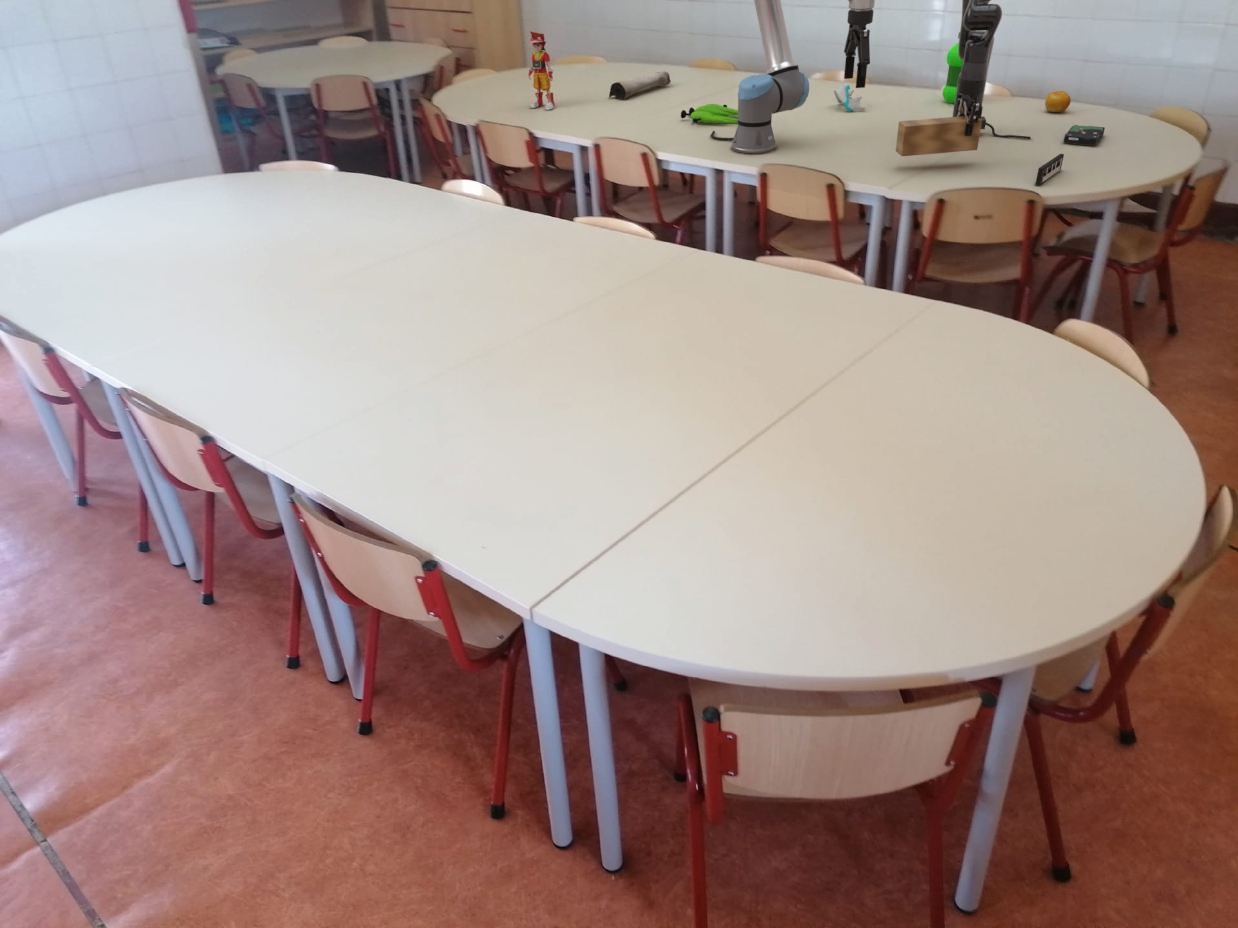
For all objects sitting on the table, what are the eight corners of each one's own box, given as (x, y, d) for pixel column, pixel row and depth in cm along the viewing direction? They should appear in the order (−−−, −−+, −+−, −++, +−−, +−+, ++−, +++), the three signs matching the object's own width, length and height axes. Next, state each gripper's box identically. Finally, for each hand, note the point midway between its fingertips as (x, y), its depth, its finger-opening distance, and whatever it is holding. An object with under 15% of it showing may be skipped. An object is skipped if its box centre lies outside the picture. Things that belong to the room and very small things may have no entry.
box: (970, 144, 289) (974, 115, 284) (977, 150, 284) (982, 120, 279) (895, 151, 289) (898, 121, 283) (901, 156, 284) (905, 126, 279)
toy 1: (525, 109, 381) (517, 32, 364) (534, 104, 388) (527, 28, 371) (550, 110, 377) (543, 32, 360) (559, 105, 384) (553, 28, 367)
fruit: (1041, 103, 332) (1056, 84, 329) (1039, 107, 340) (1054, 87, 337) (1060, 116, 331) (1076, 96, 328) (1058, 119, 339) (1073, 100, 335)
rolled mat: (651, 76, 408) (662, 61, 399) (662, 93, 408) (674, 79, 400) (605, 92, 391) (616, 77, 383) (617, 110, 391) (628, 95, 383)
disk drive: (1096, 147, 298) (1103, 135, 308) (1098, 138, 296) (1105, 126, 306) (1062, 144, 302) (1070, 132, 312) (1064, 135, 301) (1072, 124, 311)
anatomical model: (829, 82, 357) (854, 75, 356) (832, 108, 363) (856, 101, 362) (839, 90, 345) (865, 83, 344) (842, 117, 351) (867, 111, 350)
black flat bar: (1039, 185, 269) (1043, 168, 266) (1035, 184, 270) (1038, 168, 267) (1060, 170, 279) (1064, 154, 277) (1056, 169, 280) (1060, 153, 277)
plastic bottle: (973, 101, 354) (984, 32, 339) (955, 106, 349) (966, 36, 335) (952, 97, 361) (962, 29, 346) (934, 102, 356) (944, 33, 342)
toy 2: (670, 122, 346) (740, 135, 334) (671, 108, 344) (742, 120, 331) (703, 111, 367) (770, 123, 354) (704, 98, 364) (772, 109, 351)
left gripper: (838, 4, 284) (832, 75, 296) (860, 16, 263) (853, 92, 275) (861, 2, 284) (855, 74, 296) (885, 14, 263) (877, 91, 275)
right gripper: (952, 72, 280) (944, 127, 290) (969, 83, 268) (960, 140, 278) (975, 70, 280) (967, 126, 290) (994, 81, 268) (984, 138, 278)
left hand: (854, 83), depth 286 cm, fingers open, 13 cm apart
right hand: (964, 132), depth 284 cm, fingers closed on box, 6 cm apart
